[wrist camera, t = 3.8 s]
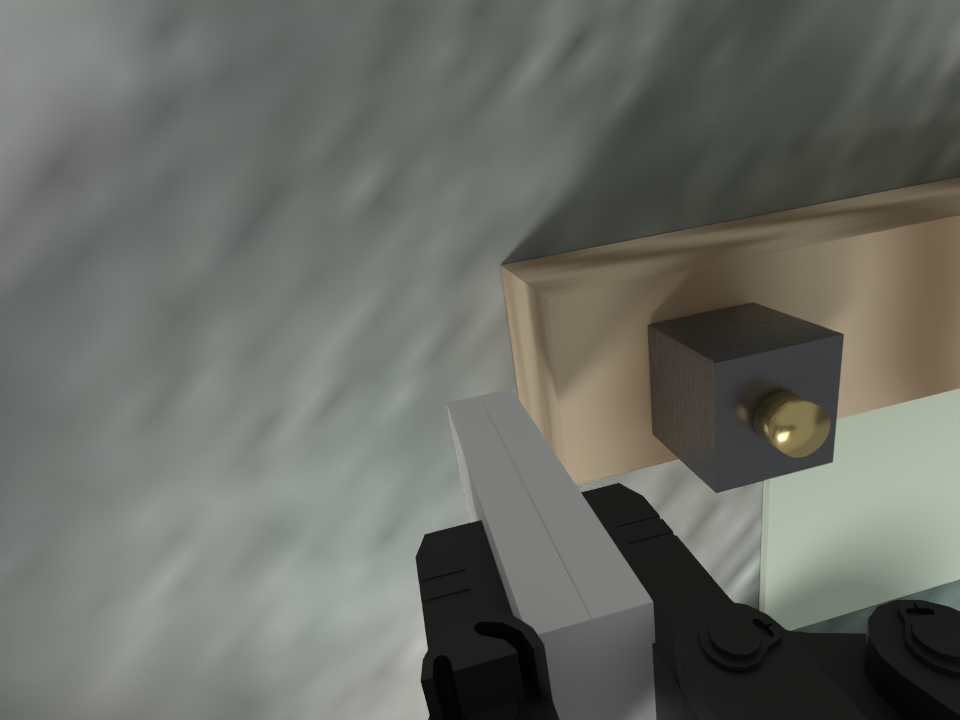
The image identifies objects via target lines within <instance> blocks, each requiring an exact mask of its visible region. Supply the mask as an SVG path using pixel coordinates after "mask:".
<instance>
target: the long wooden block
mask: <svg viewBox="0 0 960 720" xmlns="http://www.w3.org/2000/svg"><path fill="white" fill-rule="evenodd" d="M501 272H502V280H503V287H504V294H505V301H506V309H507V316H508V323H509V330H510V338H511V345H512V352H513V359H514V366H515V374H516V381H517V388H518V395H519V400H520V402H521V403H522V405H523V406H524V408H525V409H526V411H527V412H528V414H529V415H530V417H531V418H532V420H533V421H534V423H535V424H536V426H537V427H538V429H539V430H540V432H541V433H542V435H543V436H544V438H545V439H546V441H547V442H548V444H549V445H550V447H551V448H552V450H553V451H554V453H555V454H556V456H557V457H558V459H559V460H560V462H561V463H562V465H563V466H564V468H565V470H566V471H567V473H568V474H569V476H570V477H571V479H572V480H573V482H574V483H575V485H577V484H581V483H585V482H589V481H593V480H597V479H601V478H605V477H609V476H613V475H617V474H621V473H625V472H629V471H633V470H637V469H641V468H645V467H649V466H653V465H657V464H661V463H665V462H669V461H673V460H677V459H679V458H678V457H677V456H676V455H674V454H673V453H672V452H671V451H670V450H669V449H668V448H667V447H666V446H665V445H664V444H663V443H661V442H660V441H659V440H658V439H657V438H656V437H655V436H654V435H653V434H652V415H651V393H650V371H649V349H648V327H647V325H649V324H654V323H658V322H663V321H668V320H672V319H677V318H682V317H686V316H691V315H696V314H700V313H705V312H710V311H714V310H719V309H724V308H728V307H733V306H738V305H742V304H747V303H751V302H754V303H757V304H760V305H763V306H765V307H768V308H771V309H774V310H777V311H780V312H783V313H785V314H788V315H791V316H794V317H797V318H800V319H803V320H805V321H808V322H811V323H814V324H817V325H820V326H823V327H825V328H828V329H831V330H834V331H837V332H840V333H843V334H844V340H843V352H842V363H841V375H840V386H839V398H838V409H837V419H840V418H844V417H848V416H852V415H856V414H860V413H864V412H868V411H872V410H876V409H880V408H884V407H888V406H892V405H896V404H900V403H904V402H908V401H912V400H916V399H920V398H924V397H928V396H932V395H936V394H940V393H944V392H948V391H951V390H955V389H959V388H960V177H957V178H952V179H947V180H941V181H936V182H931V183H926V184H921V185H915V186H910V187H905V188H900V189H895V190H889V191H884V192H879V193H874V194H868V195H863V196H858V197H853V198H848V199H842V200H837V201H832V202H827V203H822V204H816V205H811V206H806V207H801V208H796V209H790V210H785V211H780V212H775V213H769V214H764V215H759V216H754V217H749V218H743V219H738V220H733V221H728V222H723V223H717V224H712V225H707V226H702V227H697V228H691V229H686V230H681V231H676V232H670V233H665V234H660V235H655V236H650V237H644V238H639V239H634V240H629V241H624V242H618V243H613V244H608V245H603V246H598V247H592V248H587V249H582V250H577V251H571V252H566V253H561V254H556V255H551V256H545V257H540V258H535V259H530V260H525V261H519V262H514V263H509V264H504V265H501Z"/></svg>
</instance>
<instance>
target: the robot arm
mask: <svg viewBox="0 0 960 720" xmlns="http://www.w3.org/2000/svg"><path fill="white" fill-rule="evenodd" d="M446 404H447V409H448V415H449V420H450V425H451V430H452V435H453V441H454V446H455V451H456V456H457V461H458V466H459V472H460V477H461V482H462V487H463V492H464V498H465V503H466V507H467V511H468V514H469V517H470V520H471V523H468V524H464V525H460V526H456V527H452V528H448V529H444V530H440V531H436V532H432V533H428V534H425V535H424V538H423V540H422V543H421V545H420V548H419V550H418V553H417V555H416V564H417V571H418V579H419V584H420V593H421V601H422V608H423V616H424V623H425V630H426V638H427V645H428V651H427V653H426V655H425V657H424V658H423V664H422V674H421V684H422V688H423V691H424V695H425V699H426V703H427V707H428V710H429V714H430V716H429V719H428V720H960V611H958V610H955V609H953V608H951V607H948V606H944V605H940V604H935V603H931V602H927V601H923V600H895V601H892V602H889V603H887V604H884V605H881V606H878V607H877V608H876V610H875V611H874V612H873V613H872V615H871V616H870V617H869V619H868V625H867V633H866V634H847V633H804V632H794V631H789V630H786V629H785V628H784V627H782V626H781V625H780V624H779V623H777V622H776V621H775V620H774V619H773V618H771V617H770V616H769V615H768V614H766V613H763V612H761V611H759V610H757V609H754V608H752V607H750V606H748V605H745V604H739V603H734V602H733V601H732V600H731V599H730V598H729V597H728V596H727V595H726V594H725V592H724V591H723V590H722V589H721V588H720V586H719V585H718V584H717V583H716V582H715V581H714V579H713V578H712V577H711V576H710V575H709V573H708V572H707V571H706V570H705V569H704V568H703V566H702V565H701V564H700V563H699V562H698V560H697V559H696V558H695V557H694V556H693V555H692V553H691V552H690V551H689V550H688V549H687V547H686V546H685V545H684V544H683V543H682V542H681V540H680V539H679V538H678V537H677V536H676V535H675V536H674V534H673V531H672V530H671V528H670V527H669V526H668V525H667V524H666V523H665V521H664V520H663V519H660V517H659V514H658V513H657V512H656V511H655V510H654V508H653V507H652V506H651V505H650V504H649V502H648V501H647V500H646V499H645V498H644V497H643V496H642V495H640V494H638V493H636V492H635V491H633V490H631V489H629V488H627V487H625V486H623V485H622V484H620V483H617V484H613V485H609V486H605V487H601V488H597V489H593V490H589V491H585V492H582V493H581V492H580V491H579V489H578V488H577V486H576V485H575V483H574V482H573V480H572V479H571V477H570V476H569V474H568V473H567V471H566V470H565V468H564V466H563V465H562V463H561V462H560V460H559V459H558V457H557V456H556V454H555V453H554V451H553V450H552V448H551V447H550V445H549V444H548V442H547V441H546V439H545V438H544V436H543V435H542V433H541V432H540V430H539V429H538V427H537V426H536V424H535V423H534V421H533V420H532V418H531V417H530V415H529V414H528V412H527V411H526V409H525V408H524V406H523V405H522V403H521V402H520V400H519V399H518V397H517V396H516V394H515V393H514V391H513V390H512V389H508V390H504V391H499V392H495V393H490V394H486V395H481V396H477V397H472V398H468V399H463V400H459V401H455V402H450V403H446Z"/></svg>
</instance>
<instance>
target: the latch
mask: <svg viewBox="0 0 960 720" xmlns="http://www.w3.org/2000/svg"><path fill="white" fill-rule="evenodd" d="M647 327H648V349H649V371H650V393H651V415H652V434H653V435H654V436H655V437H656V438H657V439H658V440H659V441H660V442H661V443H663V444H664V445H665V446H666V447H667V448H668V449H669V450H670V451H671V452H672V453H673V454H674V455H676V456H677V457H678V458H679V459H680V460H681V461H682V462H683V463H684V464H685V465H686V466H687V467H689V468H690V469H691V470H692V471H693V472H694V473H695V474H696V475H697V476H698V477H699V478H700V479H701V480H703V481H704V482H705V483H706V484H707V485H708V486H709V487H710V488H711V489H712V490H713V491H714V492H716V493H718V492H722V491H726V490H730V489H733V488H737V487H741V486H745V485H749V484H752V483H756V482H760V481H764V480H768V479H771V478H775V477H779V476H783V475H787V474H790V473H794V472H798V471H802V470H806V469H809V468H813V467H817V466H821V465H825V464H828V463H832V462H833V456H834V444H835V433H836V421H837V409H838V398H839V386H840V375H841V363H842V352H843V340H844V334H843V333H840V332H837V331H834V330H831V329H828V328H825V327H823V326H820V325H817V324H814V323H811V322H808V321H805V320H803V319H800V318H797V317H794V316H791V315H788V314H785V313H783V312H780V311H777V310H774V309H771V308H768V307H765V306H763V305H760V304H757V303H754V302H751V303H747V304H742V305H738V306H733V307H728V308H724V309H719V310H714V311H710V312H705V313H700V314H696V315H691V316H686V317H682V318H677V319H672V320H668V321H663V322H658V323H654V324H649V325H647Z"/></svg>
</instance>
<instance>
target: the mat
mask: <svg viewBox="0 0 960 720" xmlns="http://www.w3.org/2000/svg"><path fill="white" fill-rule="evenodd" d="M959 579H960V388H959V389H955V390H951V391H948V392H944V393H940V394H936V395H932V396H928V397H924V398H920V399H916V400H912V401H908V402H904V403H900V404H896V405H892V406H888V407H884V408H880V409H876V410H872V411H868V412H864V413H860V414H856V415H852V416H848V417H844V418H840V419H837V421H836V433H835V444H834V456H833V462H832V463H828V464H825V465H821V466H817V467H813V468H809V469H806V470H802V471H798V472H794V473H790V474H787V475H783V476H779V477H775V478H771V479H768V480H764V485H763V513H762V540H761V568H760V596H759V611H761V612H763V613H766V614H768V615H769V616H770V617H771V618H773V619H774V620H775V621H776V622H777V623H779V624H780V625H781V626H782V627H784V628H785V629H786V630H789V631H792V630H795V629H798V628H802V627H805V626H808V625H811V624H815V623H818V622H821V621H825V620H828V619H831V618H834V617H838V616H841V615H844V614H847V613H851V612H854V611H857V610H861V609H864V608H867V607H870V606H874V605H877V604H880V603H884V602H887V601H890V600H893V599H897V598H900V597H903V596H907V595H910V594H913V593H916V592H920V591H923V590H926V589H929V588H933V587H936V586H939V585H943V584H946V583H949V582H952V581H956V580H959Z"/></svg>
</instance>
